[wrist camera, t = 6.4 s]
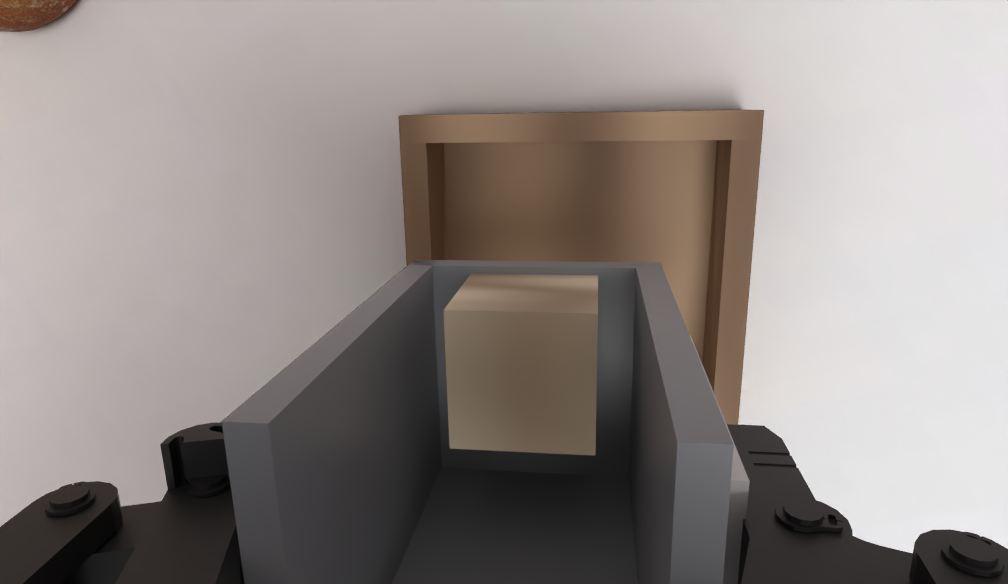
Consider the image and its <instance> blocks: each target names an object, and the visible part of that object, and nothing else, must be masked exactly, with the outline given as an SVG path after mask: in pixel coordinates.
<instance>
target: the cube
mask: <svg viewBox="0 0 1008 584" xmlns="http://www.w3.org/2000/svg"><path fill="white" fill-rule="evenodd" d="M443 311H444V333H445V356H446V378H447V401H448V423H449V446H450V449H470V450H491V451H511V452H531V453H552V454H572V455H593V456H595V452H596V399H597V346H598V275H526V274H470V276H469V277H468V278H467V280H466V281H465V282H464V284H463V285H462V286H461V288H460V289H459V290H458V292H457V293H456V294H455V296H454V297H453V298H452V300H451V301H450V302H449V304H448V305H447V306H446V308H445V309H444V310H443Z"/></svg>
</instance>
